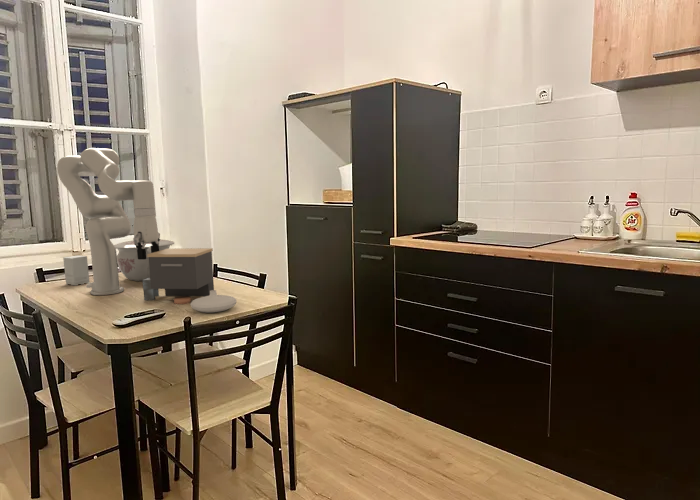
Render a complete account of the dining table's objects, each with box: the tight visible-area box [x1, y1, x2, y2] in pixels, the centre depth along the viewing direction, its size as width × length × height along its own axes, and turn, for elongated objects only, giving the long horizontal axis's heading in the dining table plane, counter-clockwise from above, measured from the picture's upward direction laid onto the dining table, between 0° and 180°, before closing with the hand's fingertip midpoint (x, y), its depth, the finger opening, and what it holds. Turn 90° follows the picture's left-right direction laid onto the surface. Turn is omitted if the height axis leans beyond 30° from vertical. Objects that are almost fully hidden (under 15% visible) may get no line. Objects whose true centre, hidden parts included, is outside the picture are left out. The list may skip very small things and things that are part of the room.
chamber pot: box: [113, 239, 175, 282], centre depth 237 cm, size 28×28×21 cm
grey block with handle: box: [142, 278, 203, 301], centre depth 194 cm, size 23×4×8 cm, turn 82°
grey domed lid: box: [190, 289, 237, 313], centre depth 176 cm, size 16×16×7 cm
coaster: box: [173, 296, 192, 305], centre depth 189 cm, size 6×6×2 cm
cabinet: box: [147, 247, 215, 297], centre depth 191 cm, size 19×16×19 cm
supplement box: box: [63, 255, 90, 286], centre depth 229 cm, size 7×7×13 cm
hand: (149, 257), depth 193 cm, fingers open, 9 cm apart
